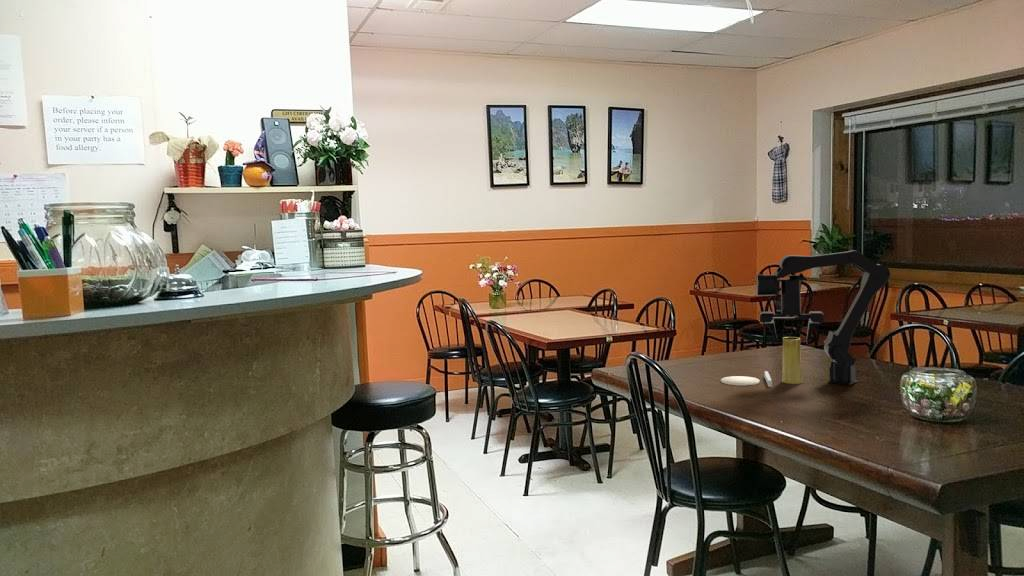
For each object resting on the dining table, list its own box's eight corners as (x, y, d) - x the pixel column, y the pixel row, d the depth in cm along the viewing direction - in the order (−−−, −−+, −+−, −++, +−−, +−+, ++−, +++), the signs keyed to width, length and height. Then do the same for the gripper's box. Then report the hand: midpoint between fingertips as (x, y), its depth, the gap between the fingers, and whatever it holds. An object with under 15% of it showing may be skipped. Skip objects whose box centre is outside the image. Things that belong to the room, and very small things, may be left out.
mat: (766, 380, 225) (766, 379, 225) (746, 387, 217) (746, 385, 217) (734, 376, 234) (734, 374, 234) (713, 382, 226) (713, 380, 226)
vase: (805, 383, 218) (805, 339, 217) (785, 384, 218) (785, 339, 217) (798, 379, 224) (797, 336, 223) (778, 380, 224) (778, 337, 223)
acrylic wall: (764, 377, 230) (764, 371, 230) (767, 377, 230) (767, 371, 230) (768, 386, 217) (768, 380, 217) (771, 386, 217) (771, 380, 216)
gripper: (821, 292, 223) (822, 340, 225) (759, 293, 230) (760, 339, 231) (823, 295, 213) (824, 345, 214) (759, 296, 220) (760, 345, 221)
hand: (791, 343), depth 220 cm, fingers open, 9 cm apart
